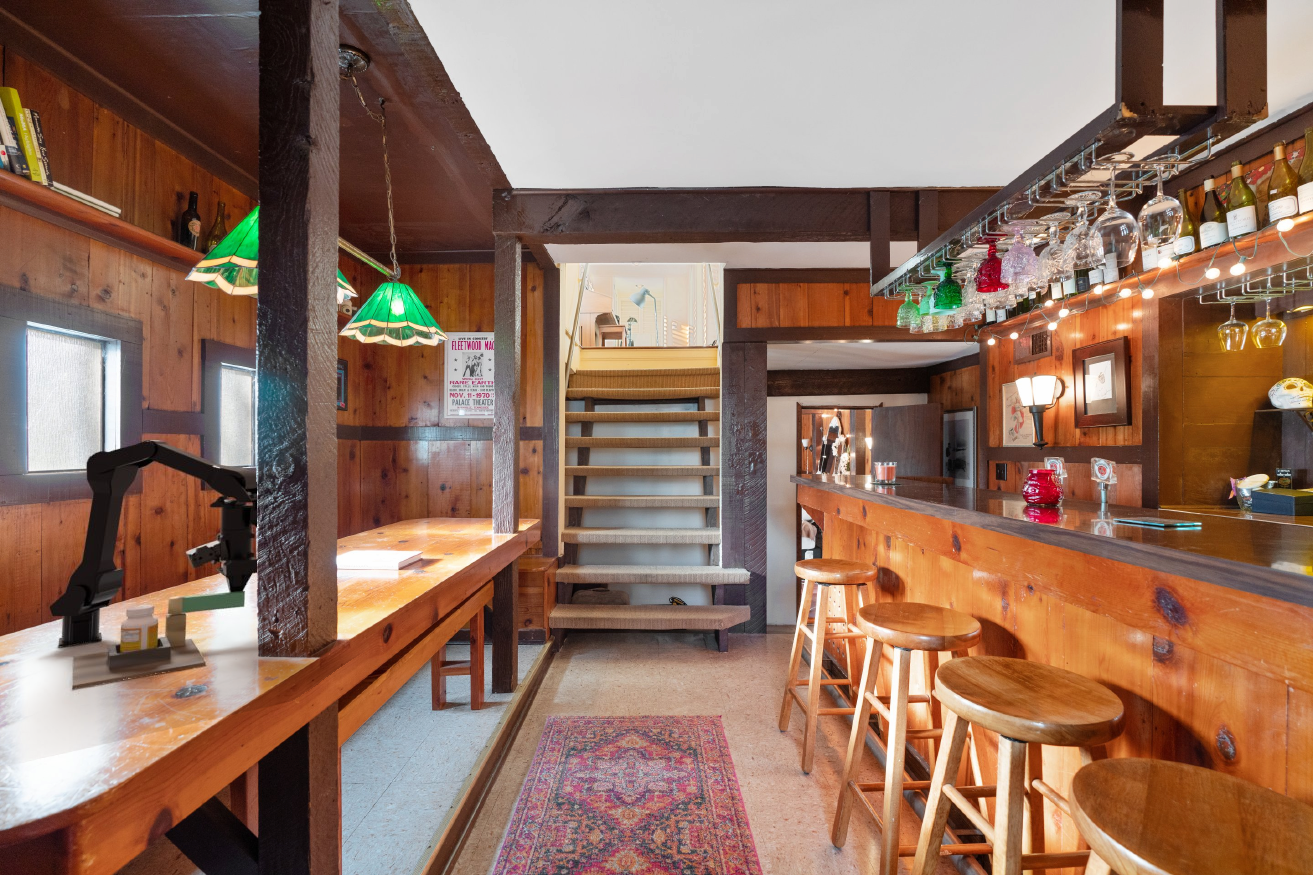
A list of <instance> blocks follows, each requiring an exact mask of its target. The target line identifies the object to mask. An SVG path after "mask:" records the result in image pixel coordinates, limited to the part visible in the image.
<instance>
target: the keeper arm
mask: <svg viewBox="0 0 1313 875" xmlns="http://www.w3.org/2000/svg"><path fill="white" fill-rule="evenodd" d="M245 595H246V591H245V590H243V591H239V592H220V593H218V592H217V593H209V594H207V593H206V594H196V595H186V596H182V595H181V596H172V597H169V598H168V600H167V601H168V603H167V604H168V605H167V608H168V609H167V614H180V613H185V614H187V613H194V612H204V611H214V610H215V611H217V610H223V609H234V608H244V607H245V604H246V602H245V599H246V597H245Z"/></svg>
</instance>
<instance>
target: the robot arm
mask: <svg viewBox="0 0 1313 875" xmlns="http://www.w3.org/2000/svg"><path fill="white" fill-rule="evenodd" d="M154 463H158V464H160V465H163V466H165V467H167V468H171V469H173V470H175V471H178V472H181V473H183V474H185V475H188V476H191V477H193V478H196V479H197V480H201V481H203V482H204V483H205V484H206V485H207V486H208V487H209V488H210V489H211V490H213V491H215V492H217V493H218V494H219V495H220V496H218V498H217V499H216V500H215V501H213V502H211V503H210V504H209V507H210V508H213V509H214V508H218V509H220V510H221V511H220V532H218V534H216V540H214V541H212V542H208V543H205V544H202V545H200V546H196V547H195V548H191V549H190V550H187V551H185V554H186V556H187V558H188V561H189V563H190V565H191V567H193V569H197V568H200V567H202V566H203V565H205V564H208V563H210V562H211V564H212V565H217V564H218V563H221V565H220V566H221V567H217V568H216V570H217V571H218V572H219V573H220V574H221V575H222V576H224V577H225V581H226V584H227V587H228V591H229V592H239V591H245V588H246V586H247V584H248V582H249V581H250V579H251V577H252V575H253V574H258V573H257V560H258V559H257V558H256V557H255V552H254V550H253V539H256V538H255V537H256V535H255V534H256V533H254V532H253V530H254V528H253V527H254V526H255V528H256V529H258V528H257V482H256V474H257V473H256V472H254V471H252V470H250V469H246V468H241V467H237V466H232V465H231V466H230V465H225V464H224V465H223V464H219V463H216V462H213V461H212V460H209V459H206V458H204V457H202V456H198V455H196V454H194V453H191V452H188V451H186V450H183V449H181V448H178V447H177V446H174V445H170V444H169V443H167V442H166V441H164V440H154V439H148V440H144V441H142V442H138V443H136V444H133V445H128V446H125V447H121V448H116V449H113V450H110V451H109V450H107V451H106V450H105V451H104V450H102V451H101V450H100V451H97V452H95V453H93V454H91V455H90V456H89V457H88V458H87V461H86V464H85V466H86V481H87V483H88V486H89V487H90V489H91V491H92V497H91V498H92V499H91V505H90V511H89V516H88V523H87V529H86V535H85V541H84V547H83V552H82V559H81V562H80V563H79V565H78V566H77V567H76V569H75V570H74V571H73V572H72V574H71V575H70V577H69V580H68V581H67V582H68V583H67V585H66V587H65V592H64V593H63V594H62V595H60V596H59V597H58V598H57V599H56V600H55V601H54V602H53V603H51V605H50V606H49V611H50V613H51V615H52V616H51V617H62V619H61V620H62V621H61V623H62V624H61V637H59V638H58V646H57V647H59V648H61V647H66V646H67V647H68V646H74V645H75V646H77V645H81V644H88V643H96V642H101V641H102V638H103V637H102V635H103V634H102V632H100V619H101V616H100V614H101V609H103V608H107V607H110V604H111V603H112V600H113V598H114V597H115V596H117V594H118V593H119V591H120V589H121V588H123V587H124V586H123V578H124V575H125V568H117V566H116V564H115V562H114V557H115V551H116V544H117V540H118V538H117V537H118V532H119V525H120V521H121V514H122V507H123V502H124V496H125V494H126V492H127V491H128V489H129V488H130V487H131V486H132V484H133V483H134V482H135V480H136V476H137V474H138V471H139V470H141V469H143V468H145V467H148V466H150V465H152V464H154ZM230 498H231V499H230ZM232 498H233V499H232Z"/></svg>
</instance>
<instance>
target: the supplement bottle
mask: <svg viewBox="0 0 1313 875" xmlns="http://www.w3.org/2000/svg"><path fill="white" fill-rule="evenodd" d="M154 612H155V605H153V604H143V605H133V606H130V607H129V606H128V607H126V612H125V613H126V614H125V616H126V617H127V618H126V619H124V620H123V621H122V622H121V625H120V642H119V644H120V653H124V652H131V651H137V650H144V649H150V648H156V647H157V642H158V638H159V619H158V617H156V616H154Z"/></svg>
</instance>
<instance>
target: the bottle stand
mask: <svg viewBox="0 0 1313 875" xmlns="http://www.w3.org/2000/svg"><path fill="white" fill-rule="evenodd" d="M186 630H187V613H180V614H168V613H167V614H165V630H164V634H165V635H164V636H162V637H158V642H157V647H156V648H150V649H144V650H137V651H131V652H124V653H120V643H113V644H108V645H107V650H106V651H101V652H96V653H89V654H84V655H76V656H73V658H72V661H73V663H72V690H76V689H81V688H87V687H91V686H98V685H102V684H103V683H105V684H109V682H110V683H114V682H113V681H116V682H120V681H119V680H121V681H124V680H123V679H127V680H129V679H128V678H132V679H136V678H135V677H138V678H141V677H140V676H144V677H147V676H146V675H149V676H151V675H150V674H155V673H160V674H163V673H162V672H166V673H169V672H168V671H171V672H175V671H174V670H177V671H182V670H186V669H187V670H188V669H193V668H199V667H204V666H206V660H205V658H204V657H203V655H202V653H201V652H200V650H199V649H198V646H197V645H196V643H195V642H194V640H193V638H186V632H187V631H186ZM181 669H182V670H181ZM155 675H156V674H155ZM103 685H104V684H103Z"/></svg>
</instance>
